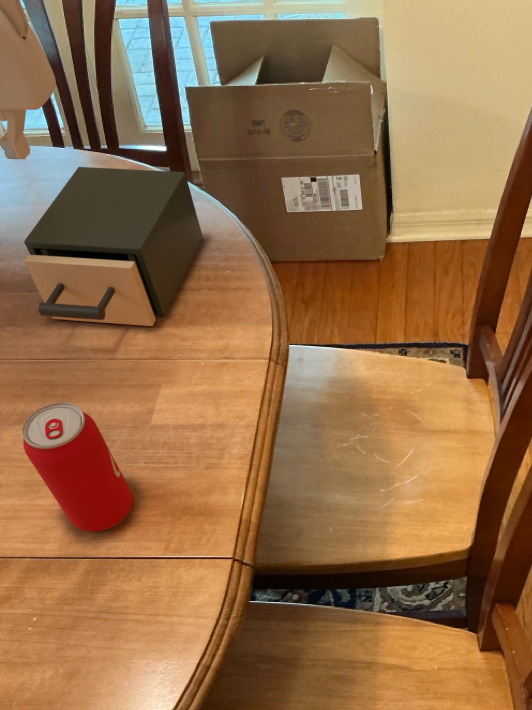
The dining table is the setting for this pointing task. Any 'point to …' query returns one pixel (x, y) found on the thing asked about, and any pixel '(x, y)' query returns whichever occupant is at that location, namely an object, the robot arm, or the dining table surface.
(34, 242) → the cabinet
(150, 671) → the dining table surface
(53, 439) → the beverage can
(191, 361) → the dining table surface
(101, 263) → the drawer
